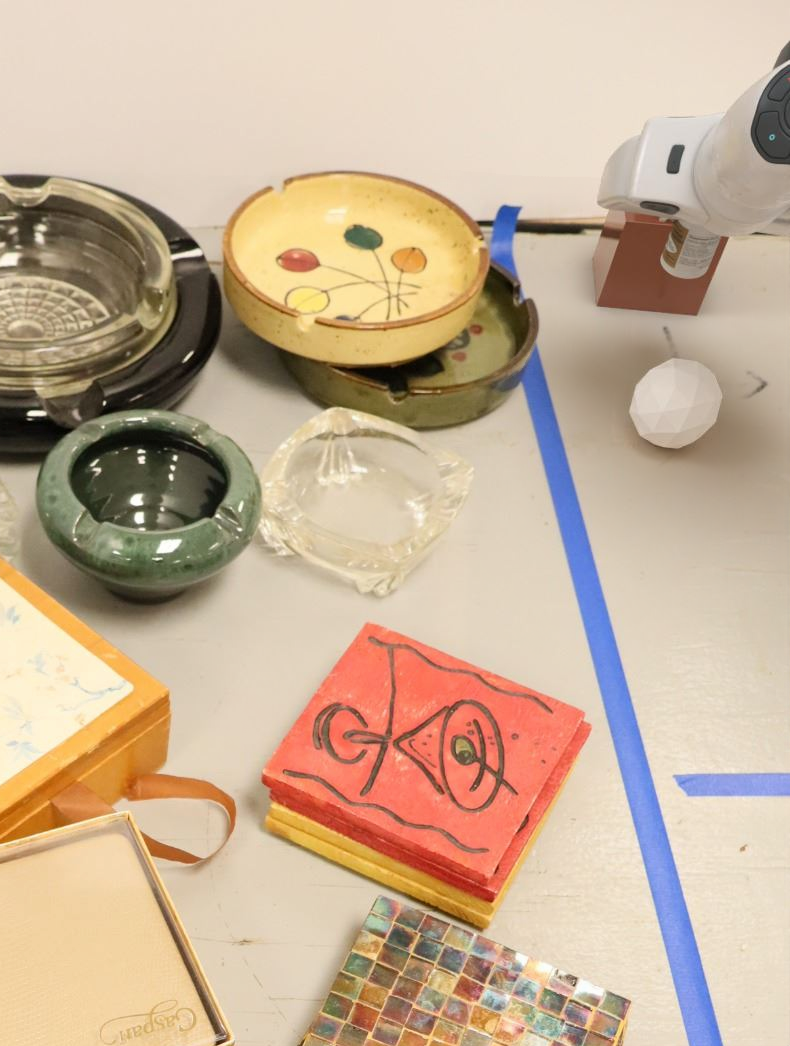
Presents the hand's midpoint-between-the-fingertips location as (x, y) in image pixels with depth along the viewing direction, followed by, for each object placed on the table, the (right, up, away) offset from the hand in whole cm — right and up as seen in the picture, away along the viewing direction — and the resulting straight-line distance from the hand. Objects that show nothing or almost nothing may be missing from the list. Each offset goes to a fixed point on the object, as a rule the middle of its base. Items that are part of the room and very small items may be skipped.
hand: (700, 218), depth 129 cm
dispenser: (+1, +1, +16) cm, 16 cm away
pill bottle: (0, -3, +4) cm, 5 cm away
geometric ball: (-2, -19, +4) cm, 19 cm away
